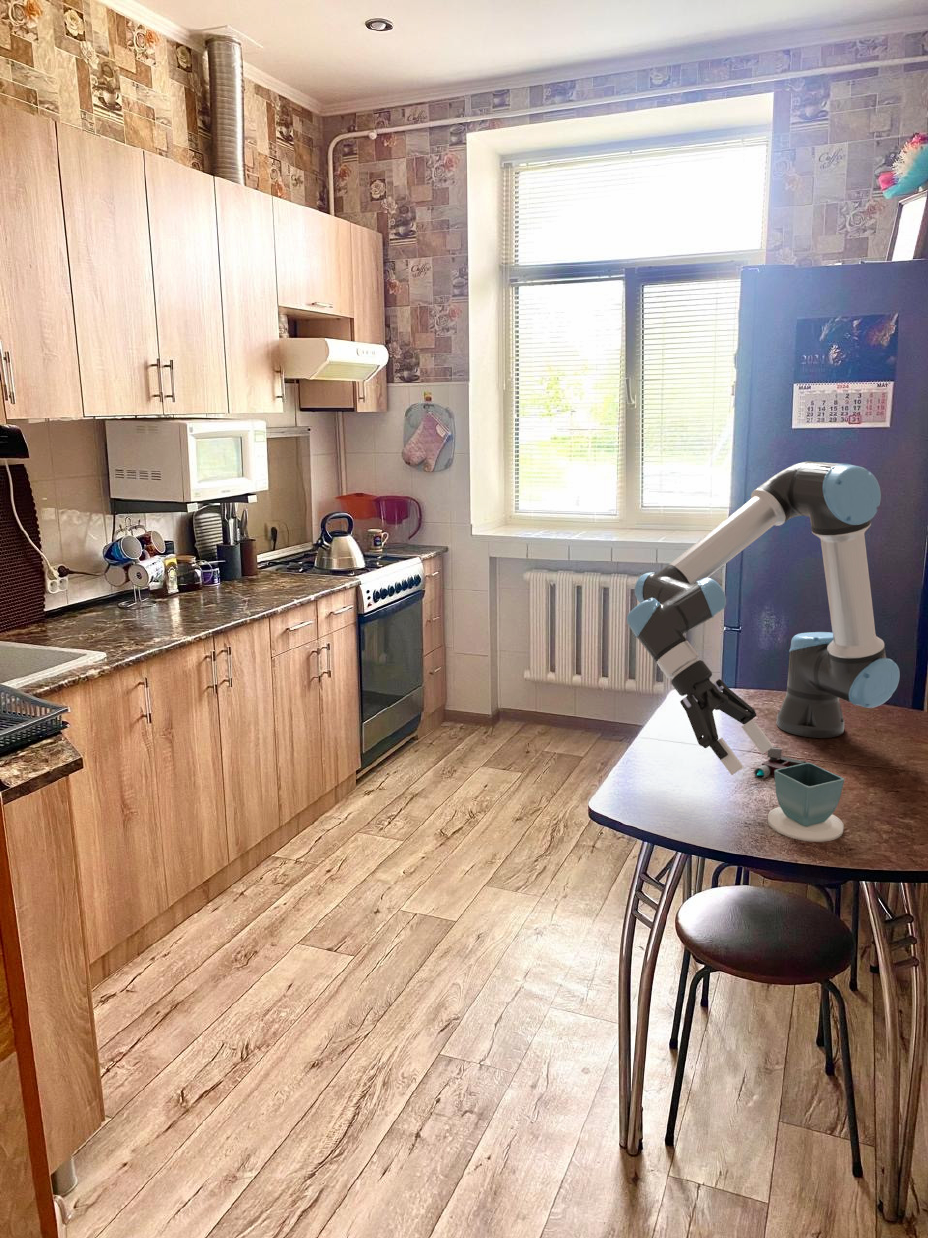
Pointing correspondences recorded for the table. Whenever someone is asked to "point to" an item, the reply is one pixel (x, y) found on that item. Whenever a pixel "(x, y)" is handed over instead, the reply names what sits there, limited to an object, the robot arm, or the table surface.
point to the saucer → (805, 827)
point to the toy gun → (775, 763)
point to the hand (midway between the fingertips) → (753, 760)
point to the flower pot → (807, 793)
